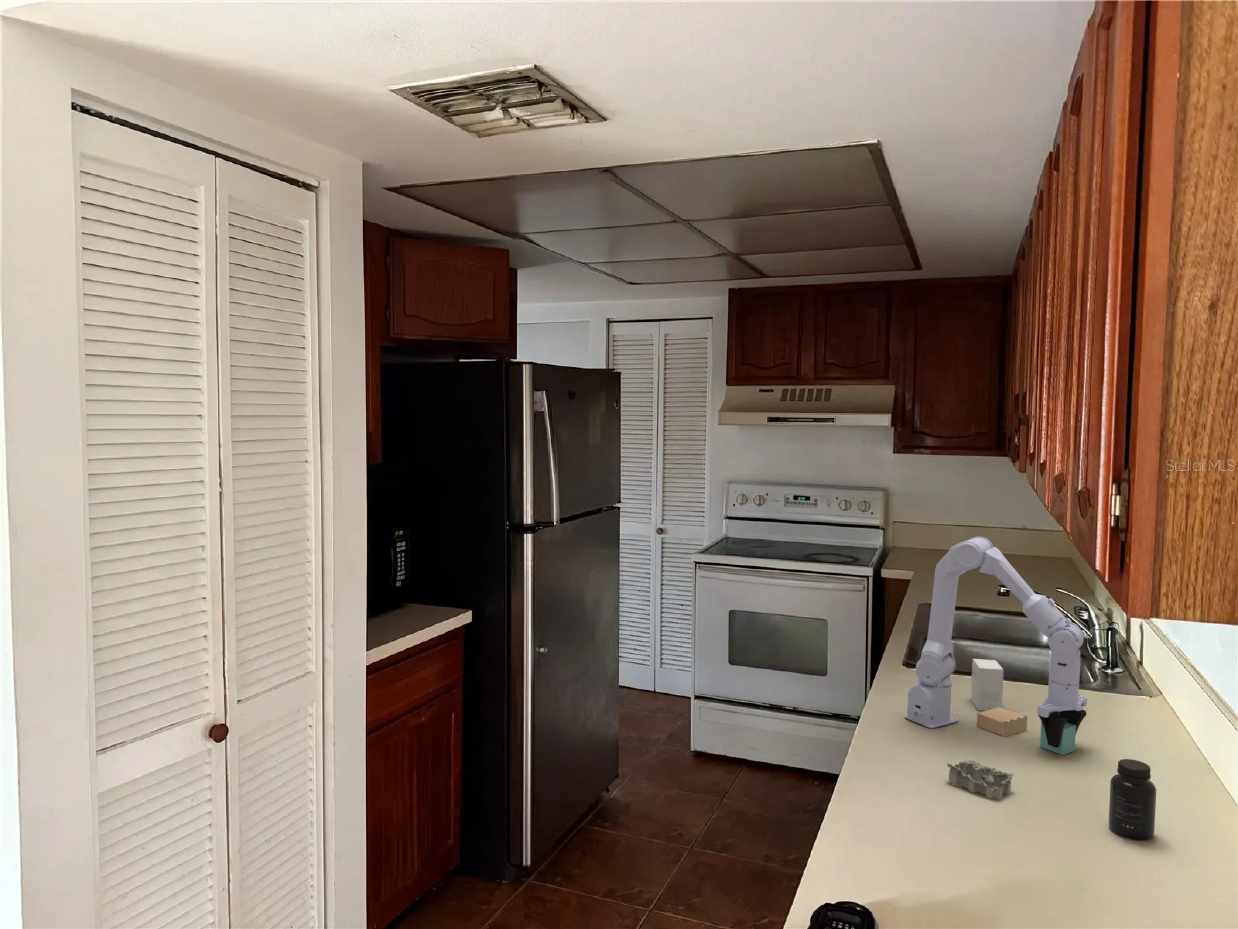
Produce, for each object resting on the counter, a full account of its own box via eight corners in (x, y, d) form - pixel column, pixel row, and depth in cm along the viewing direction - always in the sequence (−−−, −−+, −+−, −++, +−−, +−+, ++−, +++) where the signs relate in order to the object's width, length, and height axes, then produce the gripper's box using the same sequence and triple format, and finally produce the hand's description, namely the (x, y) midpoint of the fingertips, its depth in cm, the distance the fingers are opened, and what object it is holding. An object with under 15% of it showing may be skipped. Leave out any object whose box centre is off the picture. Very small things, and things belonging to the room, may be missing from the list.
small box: (1002, 712, 204) (1004, 669, 203) (977, 710, 205) (979, 667, 204) (994, 701, 212) (996, 659, 211) (970, 699, 213) (972, 658, 212)
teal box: (1062, 755, 179) (1063, 728, 179) (1039, 746, 184) (1041, 721, 183) (1074, 750, 182) (1075, 725, 181) (1052, 742, 186) (1053, 717, 185)
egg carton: (943, 783, 166) (943, 762, 166) (964, 773, 171) (964, 753, 170) (995, 803, 158) (996, 782, 157) (1016, 792, 162) (1017, 771, 162)
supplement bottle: (1111, 818, 152) (1115, 752, 151) (1156, 831, 148) (1161, 763, 147) (1104, 832, 147) (1108, 765, 146) (1150, 846, 143) (1155, 776, 142)
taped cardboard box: (1004, 736, 189) (1004, 722, 189) (976, 726, 195) (977, 712, 195) (1026, 730, 193) (1027, 716, 193) (998, 720, 199) (999, 706, 199)
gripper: (1061, 692, 174) (1057, 757, 175) (1102, 681, 181) (1098, 743, 182) (1029, 682, 180) (1026, 745, 181) (1070, 672, 187) (1067, 732, 188)
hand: (1060, 743), depth 182 cm, fingers closed on teal box, 4 cm apart
